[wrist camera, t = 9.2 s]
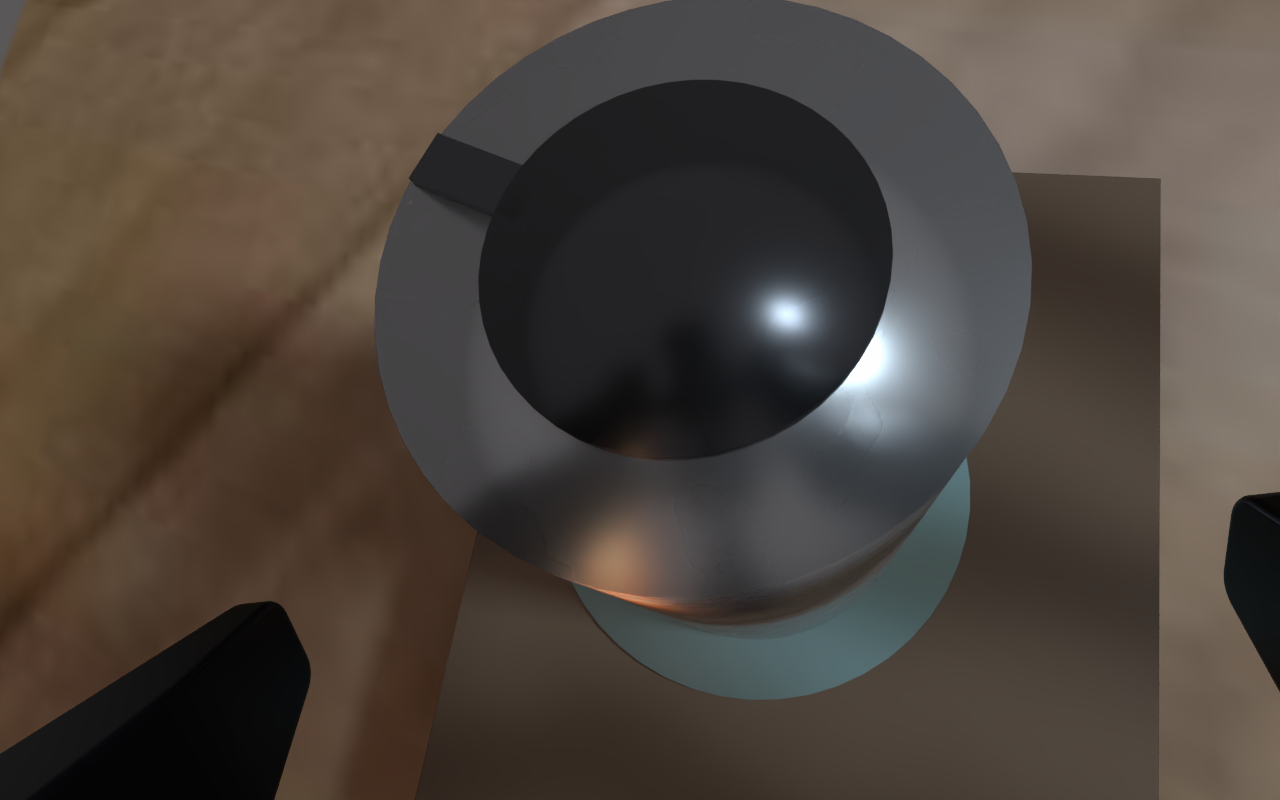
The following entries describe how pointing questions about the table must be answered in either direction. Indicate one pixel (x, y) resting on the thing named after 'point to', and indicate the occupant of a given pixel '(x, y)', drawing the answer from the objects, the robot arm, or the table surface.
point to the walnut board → (884, 603)
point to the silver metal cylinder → (706, 307)
